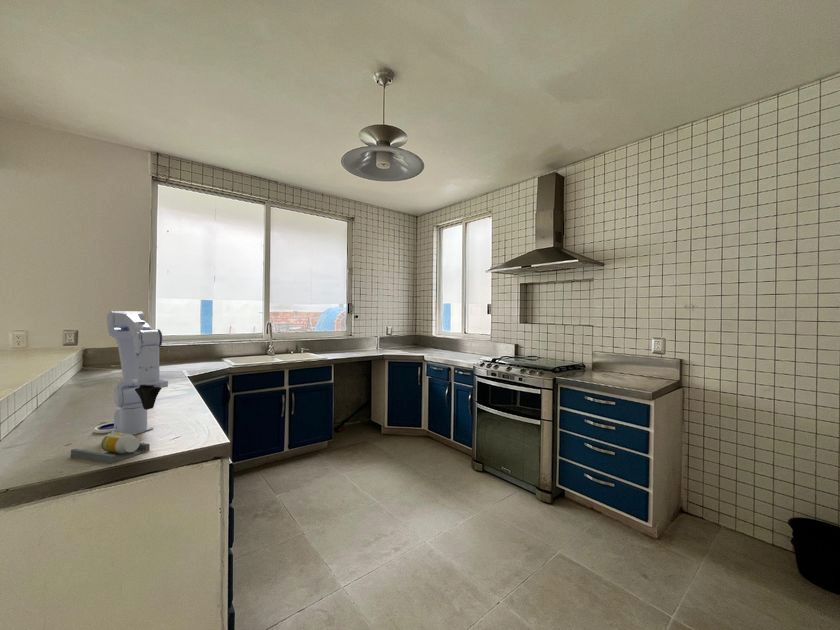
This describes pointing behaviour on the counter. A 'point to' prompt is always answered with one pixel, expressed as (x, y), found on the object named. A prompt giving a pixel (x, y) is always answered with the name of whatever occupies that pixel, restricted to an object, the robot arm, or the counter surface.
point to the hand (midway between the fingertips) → (148, 408)
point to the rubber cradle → (108, 454)
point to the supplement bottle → (119, 443)
